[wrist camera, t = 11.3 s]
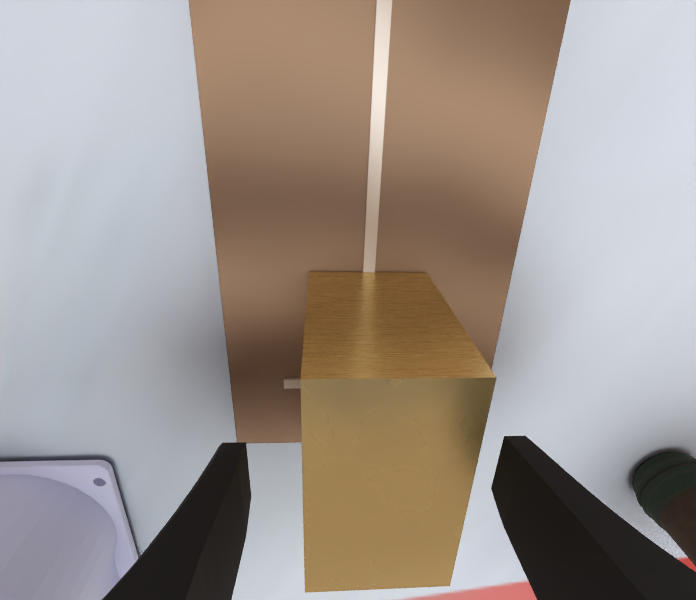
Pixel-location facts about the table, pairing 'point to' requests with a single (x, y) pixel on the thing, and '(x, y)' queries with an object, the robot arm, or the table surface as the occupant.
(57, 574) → the robot arm
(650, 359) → the table surface
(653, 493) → the stick grenade
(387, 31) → the board
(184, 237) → the table surface
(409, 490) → the upright wooden block
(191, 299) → the table surface
